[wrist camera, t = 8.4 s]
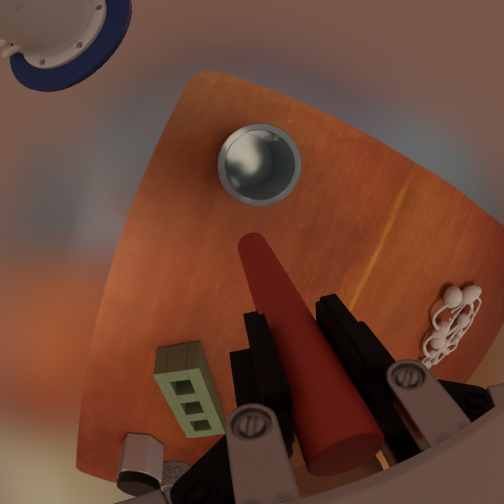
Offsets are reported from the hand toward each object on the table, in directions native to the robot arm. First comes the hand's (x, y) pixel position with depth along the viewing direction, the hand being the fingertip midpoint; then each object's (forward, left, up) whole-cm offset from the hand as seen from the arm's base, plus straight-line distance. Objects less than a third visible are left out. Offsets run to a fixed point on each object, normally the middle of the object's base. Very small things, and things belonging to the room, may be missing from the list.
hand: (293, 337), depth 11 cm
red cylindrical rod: (0, 0, -10) cm, 10 cm away
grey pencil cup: (+2, +5, -27) cm, 27 cm away
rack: (-12, -26, -27) cm, 39 cm away
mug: (-23, -55, -27) cm, 65 cm away
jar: (-28, -43, -27) cm, 58 cm away
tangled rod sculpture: (+37, -29, -27) cm, 54 cm away
